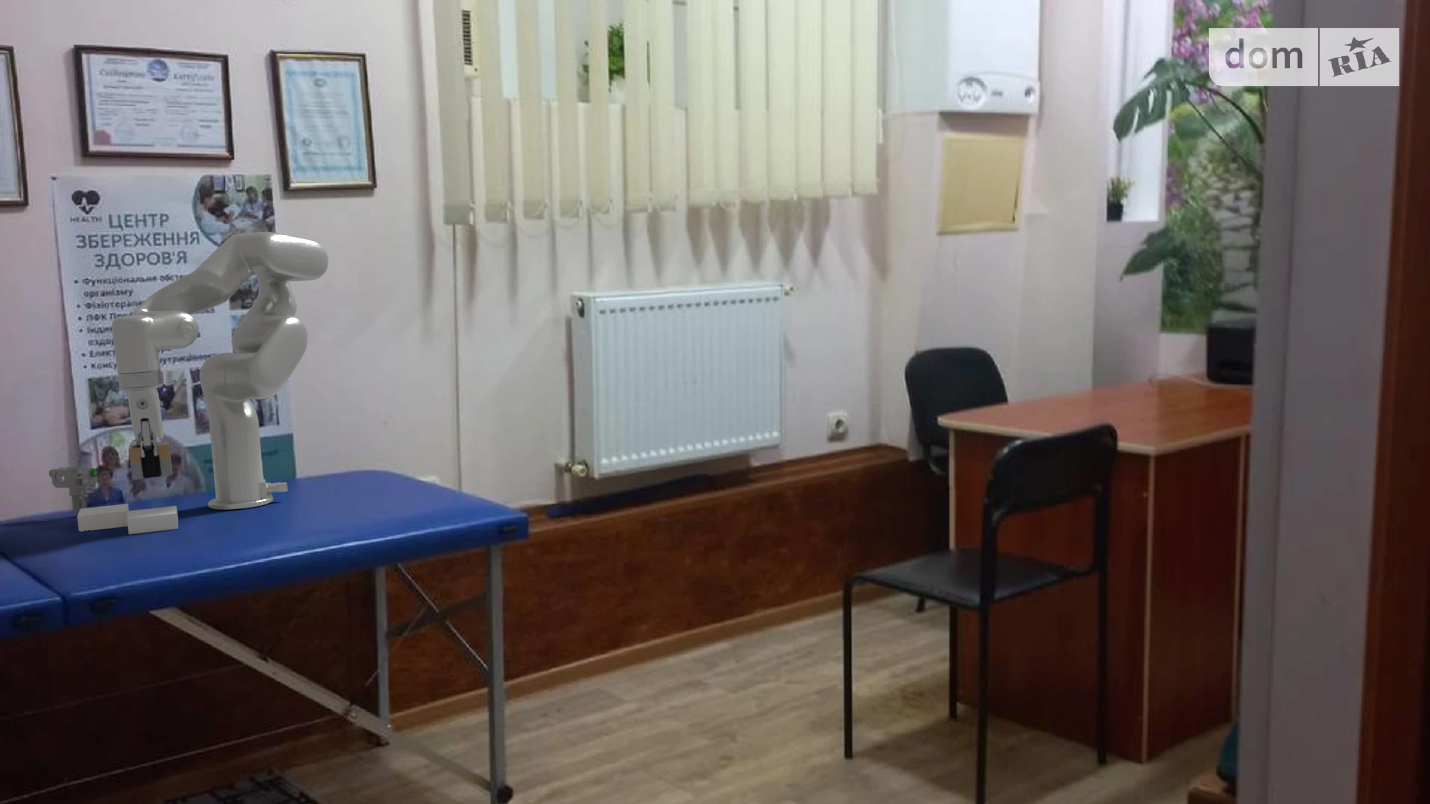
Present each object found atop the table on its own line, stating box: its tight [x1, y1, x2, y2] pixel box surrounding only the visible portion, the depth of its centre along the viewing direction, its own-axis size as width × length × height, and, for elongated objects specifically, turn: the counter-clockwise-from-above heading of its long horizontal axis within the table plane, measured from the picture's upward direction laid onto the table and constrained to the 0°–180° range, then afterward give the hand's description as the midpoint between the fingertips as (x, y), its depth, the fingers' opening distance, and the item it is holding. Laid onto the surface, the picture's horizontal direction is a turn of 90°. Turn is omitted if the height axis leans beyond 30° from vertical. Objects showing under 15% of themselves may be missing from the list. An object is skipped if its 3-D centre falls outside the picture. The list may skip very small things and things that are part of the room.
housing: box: [128, 440, 173, 481], centre depth 246 cm, size 7×4×7 cm, turn 113°
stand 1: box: [76, 503, 130, 532], centre depth 251 cm, size 9×9×3 cm
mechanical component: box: [48, 466, 100, 515], centre depth 261 cm, size 3×10×10 cm, turn 79°
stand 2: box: [127, 505, 179, 535], centre depth 247 cm, size 9×9×3 cm
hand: (152, 474), depth 246 cm, fingers closed on housing, 4 cm apart
